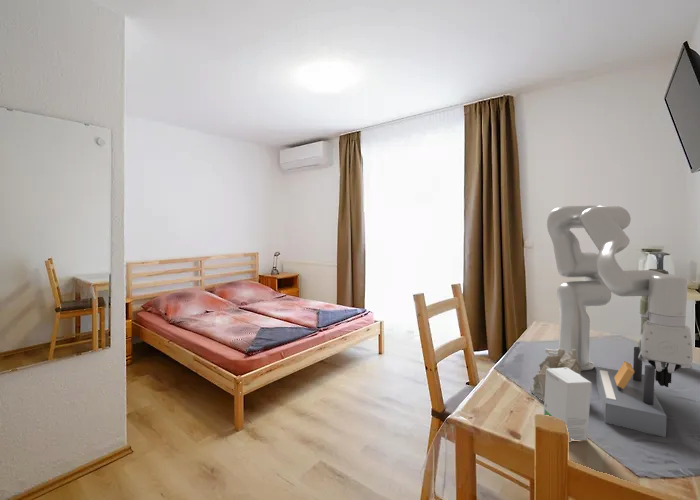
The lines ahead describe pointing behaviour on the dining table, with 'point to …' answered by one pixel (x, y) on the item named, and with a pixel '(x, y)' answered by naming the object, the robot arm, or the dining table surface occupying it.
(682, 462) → the dining table surface
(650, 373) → the dark gray rod
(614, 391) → the strip
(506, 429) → the dining table surface
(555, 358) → the beige rock sculpture
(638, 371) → the dark grey cylinder
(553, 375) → the skincare box
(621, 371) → the wooden plank tile
